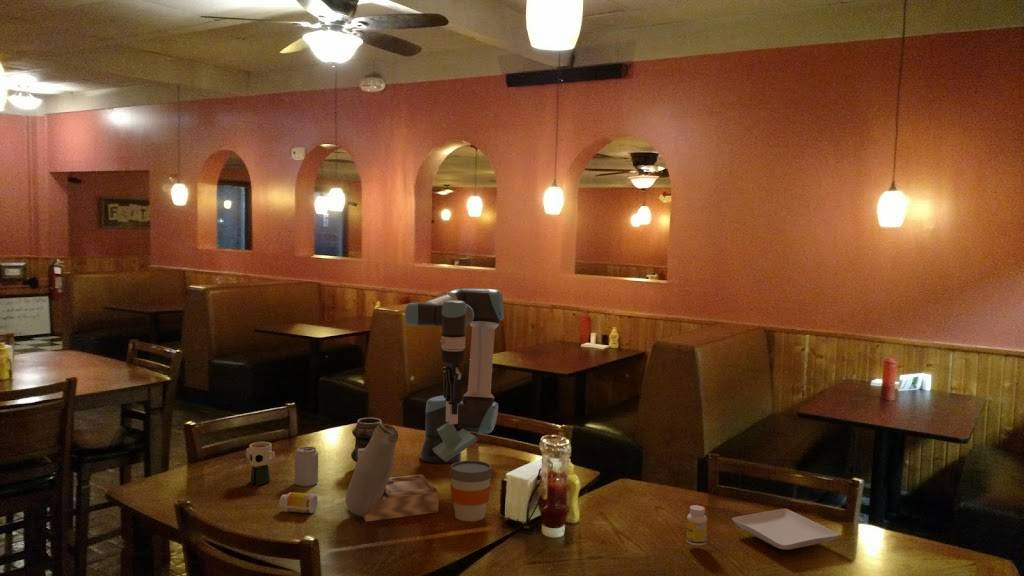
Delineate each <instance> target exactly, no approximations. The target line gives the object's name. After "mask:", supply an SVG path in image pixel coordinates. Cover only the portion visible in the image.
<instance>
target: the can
mask: <svg viewBox="0 0 1024 576" xmlns="http://www.w3.org/2000/svg"><path fill="white" fill-rule="evenodd" d="M318 482H319V452H318V451H317V448H316V447H314V446H301V447H299V448H297V449H296V452H295V454H294V484H295V485H297V486H298V487H300V488H301V487H302V488H306V487H307V488H308V487H313V486H315V485H316V484H317V483H318Z"/></svg>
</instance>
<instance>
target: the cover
mask: <svg viewBox="0 0 1024 576" xmlns="http://www.w3.org/2000/svg"><path fill="white" fill-rule="evenodd" d="M437 431H438V433H439V435H440V436H441V438H442V440H443V442H442V443H440V444H439V445H437V446H436V447H434V448H433V451H434V453H435V454H437V455H438V456H439V457H440V458H442V459H443V460H444V461H445V462H447V461H449V460H450V459H451V458H453V457H454V456H456V455H457V454H459V453H460V452H461V453H462V452H463V451H464V450H466V449H468V448H469V447H470V446H472V445H473V444H475V443H476V442H478V440H479V439H478V438H477V436H476V435H474V433H469V432H468V431H466V430H465V429H461V430H460V431H458V432H457V430H456V429H455V427H454V425H453V424H449V422H447V423H446V424H444V425H443V426H441V427H440V428H438V429H437Z"/></svg>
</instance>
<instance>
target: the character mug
mask: <svg viewBox="0 0 1024 576" xmlns="http://www.w3.org/2000/svg"><path fill="white" fill-rule="evenodd" d="M272 446H273V445H272V443H271V442H268V441H257V442H253V443H250V444H249V447H247V448H246V450H245V457H246V459H248V463H249V465H251V466H252V468H251V474H250V480H249V481H250V484H252V485H254V482H255V485H257V486H258V485H259V486H260V485H265V484H267V483H268V482H270V481H271V474H270V468H269V464H271V463H272V462H275V459H276V455H275V454H276V452H275V451H272Z"/></svg>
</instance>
